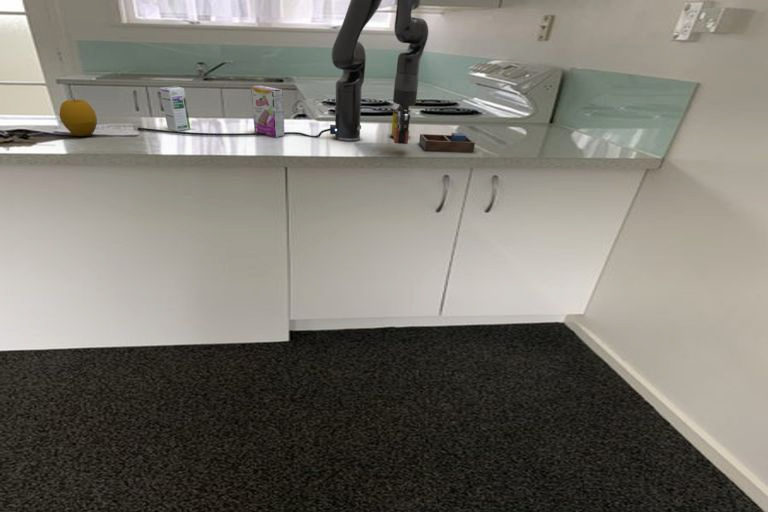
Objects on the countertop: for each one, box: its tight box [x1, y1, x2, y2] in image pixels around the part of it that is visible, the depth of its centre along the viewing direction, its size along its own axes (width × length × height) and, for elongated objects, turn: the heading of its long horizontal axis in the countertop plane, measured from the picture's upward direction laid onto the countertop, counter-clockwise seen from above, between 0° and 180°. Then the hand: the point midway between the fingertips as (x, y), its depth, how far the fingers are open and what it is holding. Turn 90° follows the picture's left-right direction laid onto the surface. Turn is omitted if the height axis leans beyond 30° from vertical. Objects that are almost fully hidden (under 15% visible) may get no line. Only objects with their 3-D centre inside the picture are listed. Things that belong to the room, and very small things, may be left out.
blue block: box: [450, 132, 467, 142], centre depth 155 cm, size 4×4×4 cm
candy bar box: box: [250, 85, 286, 138], centre depth 153 cm, size 11×5×16 cm, turn 58°
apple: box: [59, 98, 98, 138], centre depth 135 cm, size 10×10×12 cm
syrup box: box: [159, 85, 191, 132], centre depth 151 cm, size 6×6×14 cm
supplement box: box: [390, 106, 411, 139], centre depth 164 cm, size 6×6×11 cm
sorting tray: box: [418, 133, 476, 154], centre depth 155 cm, size 18×11×4 cm, turn 96°
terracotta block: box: [392, 127, 410, 145], centre depth 142 cm, size 4×4×4 cm
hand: (400, 141), depth 143 cm, fingers closed on terracotta block, 4 cm apart
